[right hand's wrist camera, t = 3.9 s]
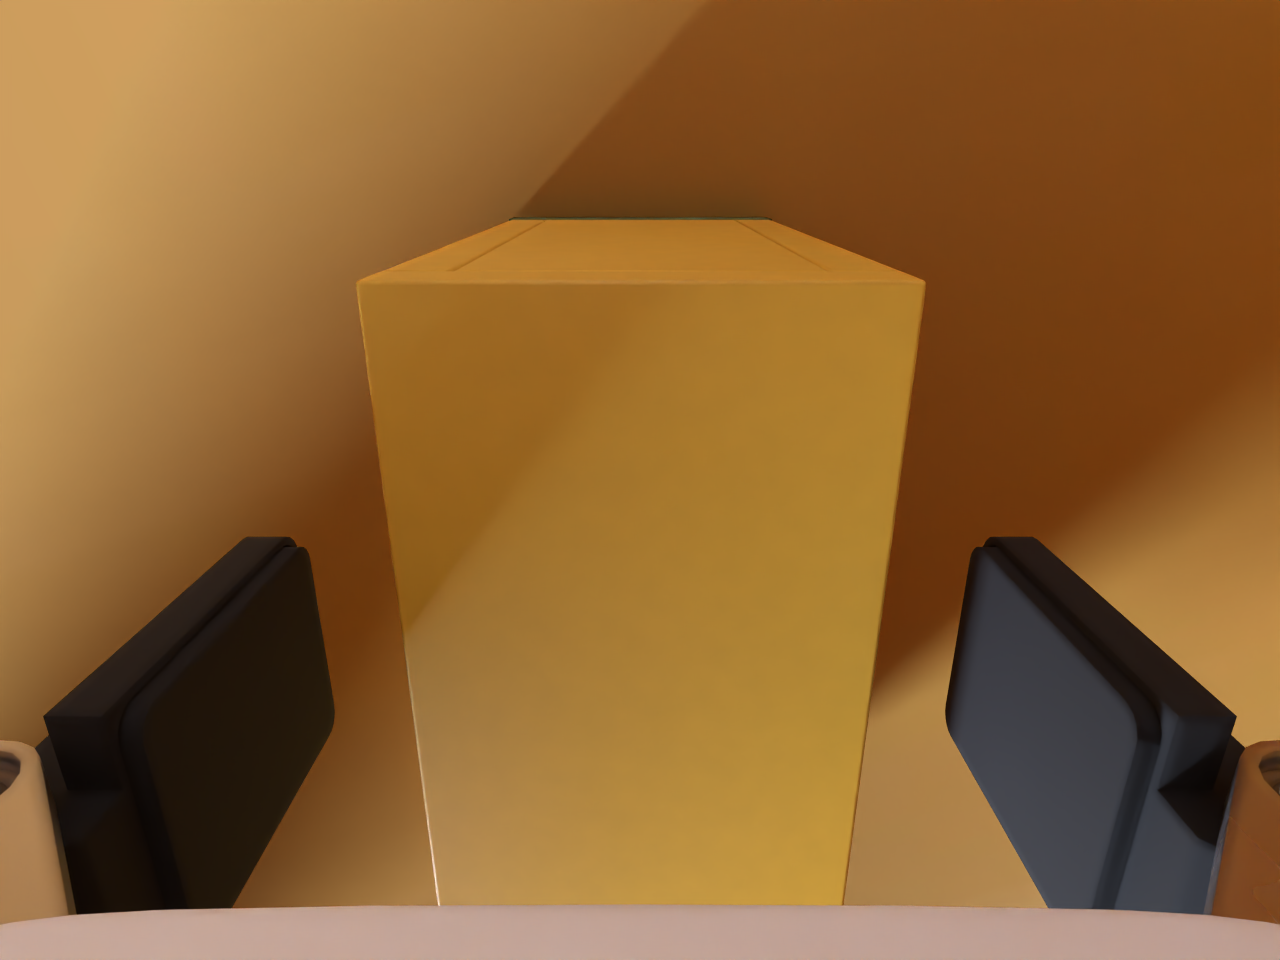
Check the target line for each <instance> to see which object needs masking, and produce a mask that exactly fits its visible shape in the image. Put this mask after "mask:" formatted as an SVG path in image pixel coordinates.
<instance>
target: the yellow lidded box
mask: <svg viewBox="0 0 1280 960" xmlns="http://www.w3.org/2000/svg"><path fill="white" fill-rule="evenodd" d="M356 290H357V297H358V305H359V312H360V320H361V327H362V335H363V343H364V350H365V358H366V365H367V373H368V380H369V388H370V395H371V403H372V410H373V418H374V425H375V433H376V441H377V448H378V456H379V463H380V471H381V478H382V486H383V493H384V501H385V508H386V516H387V524H388V531H389V539H390V546H391V554H392V561H393V569H394V576H395V584H396V591H397V599H398V606H399V614H400V622H401V629H402V637H403V644H404V652H405V659H406V667H407V674H408V682H409V689H410V697H411V705H412V712H413V720H414V727H415V735H416V742H417V750H418V757H419V765H420V772H421V780H422V788H423V795H424V803H425V810H426V818H427V825H428V833H429V840H430V848H431V855H432V863H433V870H434V878H435V886H436V893H437V901H438V906H440V905H840V906H843V904H844V897H845V889H846V882H847V874H848V867H849V859H850V852H851V844H852V837H853V829H854V822H855V814H856V807H857V799H858V792H859V784H860V777H861V769H862V762H863V754H864V747H865V739H866V732H867V724H868V717H869V709H870V702H871V694H872V687H873V679H874V672H875V664H876V657H877V649H878V642H879V634H880V627H881V619H882V612H883V604H884V597H885V590H886V582H887V575H888V567H889V560H890V552H891V545H892V537H893V530H894V522H895V515H896V507H897V500H898V492H899V485H900V477H901V470H902V462H903V455H904V447H905V440H906V432H907V425H908V417H909V410H910V402H911V395H912V387H913V380H914V372H915V365H916V357H917V350H918V342H919V335H920V327H921V320H922V312H923V305H924V297H925V290H926V282H925V281H924V280H922V279H919V278H917V277H914V276H911V275H909V274H906V273H904V272H901V271H898V270H896V269H893V268H891V267H888V266H886V265H883V264H881V263H878V262H876V261H873V260H871V259H868V258H865V257H863V256H860V255H858V254H855V253H853V252H850V251H848V250H845V249H843V248H840V247H837V246H835V245H832V244H830V243H827V242H825V241H822V240H820V239H817V238H814V237H812V236H809V235H807V234H804V233H802V232H799V231H797V230H794V229H792V228H789V227H786V226H784V225H781V224H779V223H776V222H774V221H772V219H770V218H767V217H514V218H512V219H509V221H508V222H505V223H503V224H500V225H498V226H495V227H493V228H490V229H488V230H485V231H483V232H480V233H478V234H475V235H473V236H470V237H467V238H465V239H462V240H460V241H457V242H455V243H452V244H450V245H447V246H445V247H442V248H440V249H437V250H435V251H432V252H430V253H427V254H425V255H422V256H420V257H417V258H415V259H412V260H409V261H407V262H404V263H402V264H399V265H397V266H394V267H392V268H389V269H387V270H384V271H381V272H378V273H376V274H373V275H370V276H368V277H365V278H363V279H360V280H358V281H357V283H356Z"/></svg>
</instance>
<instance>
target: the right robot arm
mask: <svg viewBox="0 0 1280 960" xmlns="http://www.w3.org/2000/svg"><path fill="white" fill-rule="evenodd" d="M334 715H335V709H334V701H333V695H332V689H331V683H330V677H329V671H328V665H327V659H326V653H325V647H324V641H323V635H322V629H321V623H320V617H319V611H318V605H317V599H316V592H315V586H314V580H313V574H312V568H311V562H310V557H309V554H308V552H307V550H306V549H305V548H304V547H297V546H296V544H295V542H294V540H292V539H291V538H290V537H246V538H245V539H243V540H242V541H240V542H239V543H238V544H237V545H236V546H235V547H234V548H233V549H231V550H230V551H229V552H228V553H227V554H226V555H225V556H224V557H222V558H221V559H220V560H219V561H218V562H217V563H216V564H215V565H213V566H212V567H211V568H210V569H209V570H208V571H207V572H205V573H204V574H203V575H202V576H201V577H200V578H199V579H198V580H196V581H195V582H194V583H193V584H192V585H191V586H190V587H189V588H187V589H186V590H185V591H184V592H183V593H182V594H181V595H180V596H178V597H177V598H176V599H175V600H174V601H173V602H172V603H171V604H169V605H168V606H167V607H166V608H165V609H164V610H163V611H162V612H160V613H159V614H158V615H157V616H156V617H155V618H154V619H152V620H151V621H150V622H149V623H148V624H147V625H146V626H145V627H143V628H142V629H141V630H140V631H139V632H138V633H137V634H136V635H134V636H133V637H132V638H131V639H130V640H129V641H128V642H127V643H125V644H124V645H123V646H122V647H121V648H120V649H119V650H118V651H116V652H115V653H114V654H113V655H112V656H111V657H110V658H108V659H107V660H106V661H105V662H104V663H103V664H102V665H101V666H99V667H98V668H97V669H96V670H95V671H94V672H93V673H92V674H90V675H89V676H88V677H87V678H86V679H85V680H84V681H83V682H81V683H80V684H79V685H78V686H77V687H76V688H75V689H74V690H72V691H71V692H70V693H69V694H68V695H67V696H66V697H64V698H63V699H62V700H61V701H60V702H59V703H58V704H57V705H55V706H54V707H53V708H52V709H51V710H50V711H49V712H48V713H46V714H45V715H44V716H43V717H44V720H45V724H46V727H47V730H48V733H49V735H48V736H47V737H46V738H45V739H44V740H43V741H42V742H41V743H40V744H39V745H38V746H36V747H35V748H34V747H32V746H30V745H27V744H25V743H22V742H20V741H4V740H0V960H1280V740H1276V741H1260V742H1258V743H1255V744H1253V745H1250V746H1248V747H1246V748H1245V747H1244V746H1242V745H1241V744H1240V743H1239V742H1238V741H1237V740H1236V739H1235V738H1234V737H1233V736H1232V735H1231V733H1232V730H1233V727H1234V724H1235V720H1236V717H1237V716H1236V715H1235V714H1234V713H1232V712H1231V711H1230V710H1229V709H1228V708H1227V707H1226V706H1225V705H1223V704H1222V703H1221V702H1220V701H1219V700H1218V699H1217V698H1216V697H1214V696H1213V695H1212V694H1211V693H1210V692H1209V691H1208V690H1206V689H1205V688H1204V687H1203V686H1202V685H1201V684H1200V683H1199V682H1197V681H1196V680H1195V679H1194V678H1193V677H1192V676H1191V675H1190V674H1188V673H1187V672H1186V671H1185V670H1184V669H1183V668H1182V667H1181V666H1179V665H1178V664H1177V663H1176V662H1175V661H1174V660H1173V659H1172V658H1170V657H1169V656H1168V655H1167V654H1166V653H1165V652H1164V651H1162V650H1161V649H1160V648H1159V647H1158V646H1157V645H1156V644H1155V643H1153V642H1152V641H1151V640H1150V639H1149V638H1148V637H1147V636H1146V635H1144V634H1143V633H1142V632H1141V631H1140V630H1139V629H1138V628H1137V627H1135V626H1134V625H1133V624H1132V623H1131V622H1130V621H1129V620H1128V619H1126V618H1125V617H1124V616H1123V615H1122V614H1121V613H1120V612H1118V611H1117V610H1116V609H1115V608H1114V607H1113V606H1112V605H1111V604H1109V603H1108V602H1107V601H1106V600H1105V599H1104V598H1103V597H1102V596H1100V595H1099V594H1098V593H1097V592H1096V591H1095V590H1094V589H1093V588H1091V587H1090V586H1089V585H1088V584H1087V583H1086V582H1085V581H1084V580H1082V579H1081V578H1080V577H1079V576H1078V575H1077V574H1076V573H1075V572H1073V571H1072V570H1071V569H1070V568H1069V567H1068V566H1067V565H1065V564H1064V563H1063V562H1062V561H1061V560H1060V559H1059V558H1058V557H1056V556H1055V555H1054V554H1053V553H1052V552H1051V551H1050V550H1049V549H1047V548H1046V547H1045V546H1044V545H1043V544H1042V543H1041V542H1040V541H1038V540H1037V539H1035V538H1034V537H990V538H989V539H988V540H986V542H985V544H984V546H983V547H976V548H975V549H974V550H973V552H972V554H971V557H970V562H969V568H968V574H967V580H966V586H965V592H964V599H963V605H962V611H961V617H960V623H959V629H958V635H957V641H956V647H955V653H954V659H953V665H952V671H951V677H950V683H949V689H948V695H947V701H946V709H945V715H946V723H947V727H948V731H949V733H950V735H951V737H952V739H953V741H954V742H955V744H956V746H957V748H958V749H959V751H960V753H961V755H962V757H963V758H964V760H965V762H966V764H967V765H968V767H969V769H970V771H971V772H972V774H973V776H974V778H975V779H976V781H977V783H978V785H979V787H980V788H981V790H982V792H983V794H984V795H985V797H986V799H987V801H988V802H989V804H990V806H991V808H992V809H993V811H994V813H995V815H996V817H997V818H998V820H999V822H1000V824H1001V825H1002V827H1003V829H1004V831H1005V832H1006V834H1007V836H1008V838H1009V839H1010V841H1011V843H1012V845H1013V847H1014V848H1015V850H1016V852H1017V854H1018V855H1019V857H1020V859H1021V861H1022V862H1023V864H1024V866H1025V868H1026V869H1027V871H1028V873H1029V875H1030V877H1031V878H1032V880H1033V882H1034V884H1035V885H1036V887H1037V889H1038V891H1039V892H1040V894H1041V896H1042V898H1043V899H1044V901H1045V903H1046V905H1047V907H1048V908H998V907H946V906H840V905H440V906H334V907H282V908H232V907H233V905H234V903H235V901H236V899H237V898H238V896H239V894H240V892H241V891H242V889H243V887H244V885H245V884H246V882H247V880H248V878H249V877H250V875H251V873H252V871H253V869H254V868H255V866H256V864H257V862H258V861H259V859H260V857H261V855H262V854H263V852H264V850H265V848H266V847H267V845H268V843H269V841H270V839H271V838H272V836H273V834H274V832H275V831H276V829H277V827H278V825H279V824H280V822H281V820H282V818H283V817H284V815H285V813H286V811H287V809H288V808H289V806H290V804H291V802H292V801H293V799H294V797H295V795H296V794H297V792H298V790H299V788H300V787H301V785H302V783H303V781H304V779H305V778H306V776H307V774H308V772H309V771H310V769H311V767H312V765H313V764H314V762H315V760H316V758H317V757H318V755H319V753H320V751H321V749H322V748H323V746H324V744H325V742H326V741H327V739H328V737H329V735H330V733H331V731H332V727H333V723H334Z"/></svg>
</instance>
